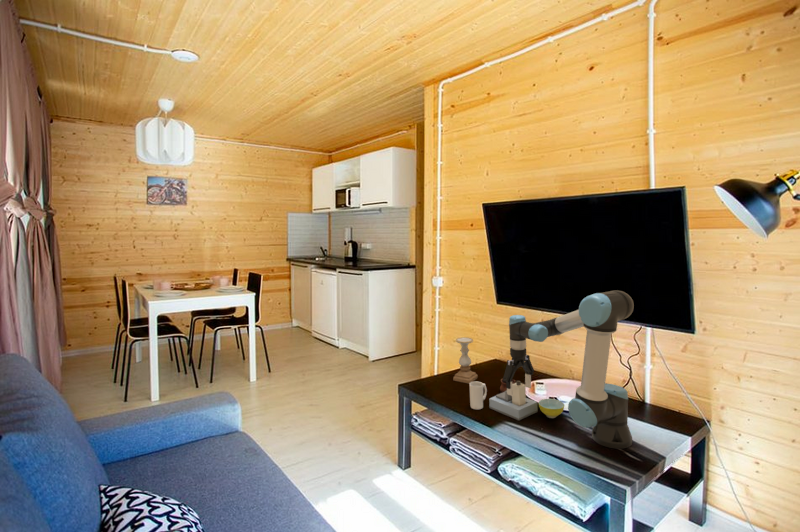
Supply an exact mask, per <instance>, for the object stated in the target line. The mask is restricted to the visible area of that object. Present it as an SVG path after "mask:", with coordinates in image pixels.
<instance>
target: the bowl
mask: <svg viewBox="0 0 800 532" xmlns="http://www.w3.org/2000/svg"><path fill="white" fill-rule="evenodd" d="M538 409H539V410H540V411H541V412H542V413H543V414H544V415H545V416H546V418H549V419H555V418H557V417H559V415H561V414H562V413H563V412H564V409H565V404H564V402H562V401H561V400H558V399H554V398H543V399H540V400H538Z"/></svg>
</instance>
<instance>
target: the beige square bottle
mask: <svg viewBox="0 0 800 532" xmlns="http://www.w3.org/2000/svg"><path fill="white" fill-rule="evenodd" d="M512 387H513V396H512V404H515V405H517V406H522V405H524V404H526V398H527V395H526V394H527V393H526V392H527V391H526V389H527V387H526V386H525V383H523V382H522V381H521V380H515V383H514V384H512Z"/></svg>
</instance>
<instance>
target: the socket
mask: <svg viewBox="0 0 800 532" xmlns="http://www.w3.org/2000/svg"><path fill="white" fill-rule="evenodd" d="M488 401H489V402H488V403H489V406H488V407H489V409H491V410H492V411H493V410H494V411H496V412H497V413H500V414H502V415H505V416H507V417H510V418H512V419H514V420H516V421H521V420H523V419H525V418H528V417H529V416H531V415H534V414H536V413H538V409H539V405H538V401H536V400H533V399H531V398H528V397H526V404H524V405H522V406H517V405H515V404H512V400H510V401H508V402H507V401H505V400H502V399H500V398H497V397H496V395H494V396H492V397H490V398H489V399H488Z"/></svg>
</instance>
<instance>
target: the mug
mask: <svg viewBox="0 0 800 532" xmlns="http://www.w3.org/2000/svg"><path fill="white" fill-rule="evenodd" d="M468 384H469V403H470V404H469V405H470V408H471V409H473V410H481V409H482V410H483V408H484V401H485V400H486V398H487V394H488V393H487V392H488V389H487V386H486V383H483V382H481V381H476V380H474V381H473V382H471V383H468Z"/></svg>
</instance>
